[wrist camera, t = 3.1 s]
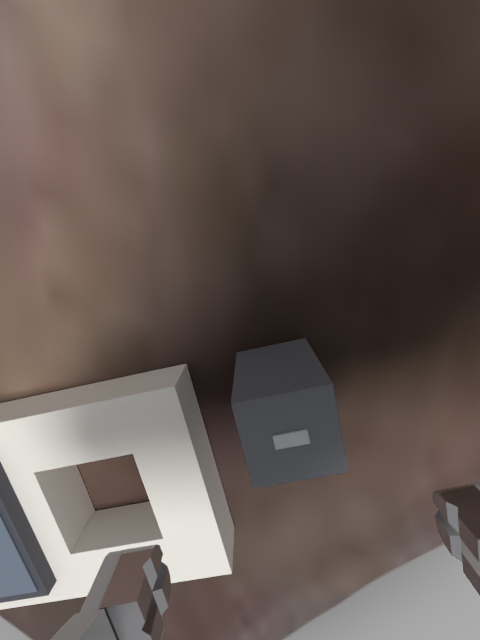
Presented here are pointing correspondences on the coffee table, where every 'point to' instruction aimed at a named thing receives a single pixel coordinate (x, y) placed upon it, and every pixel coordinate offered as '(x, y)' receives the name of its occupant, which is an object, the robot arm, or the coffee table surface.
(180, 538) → the switch plate
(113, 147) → the coffee table surface
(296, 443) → the rocker switch
